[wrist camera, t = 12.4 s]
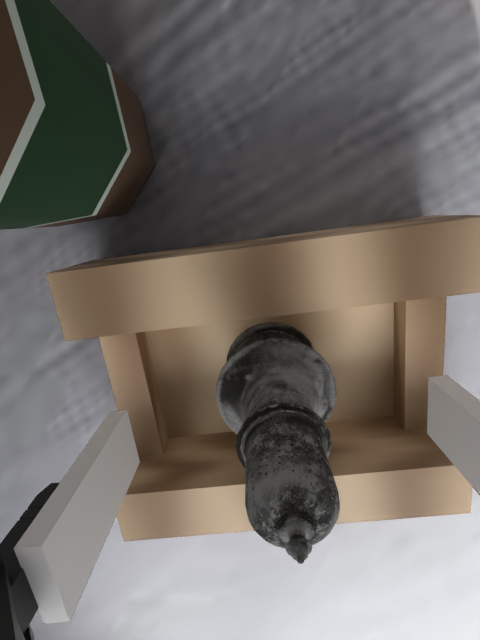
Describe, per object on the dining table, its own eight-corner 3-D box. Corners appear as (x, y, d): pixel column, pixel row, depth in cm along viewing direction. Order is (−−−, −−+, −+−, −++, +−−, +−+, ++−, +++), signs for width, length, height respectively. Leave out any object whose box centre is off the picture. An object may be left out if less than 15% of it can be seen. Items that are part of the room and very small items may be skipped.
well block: (151, 468, 24) (124, 541, 18) (100, 258, 20) (45, 273, 14) (418, 443, 23) (470, 512, 17) (423, 215, 19) (493, 215, 13)
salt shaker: (332, 394, 21) (438, 618, 9) (239, 420, 21) (229, 660, 10) (306, 303, 19) (394, 436, 8) (206, 334, 20) (148, 500, 8)
